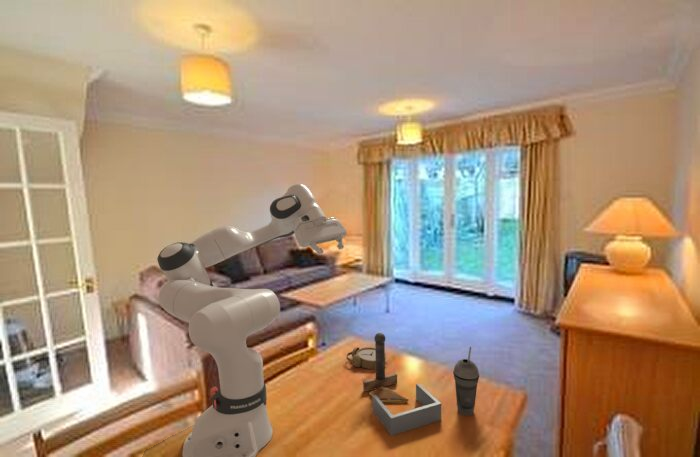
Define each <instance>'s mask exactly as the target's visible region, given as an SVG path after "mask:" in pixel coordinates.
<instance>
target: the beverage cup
mask: <svg viewBox="0 0 700 457" xmlns="http://www.w3.org/2000/svg"><path fill="white" fill-rule="evenodd" d="M471 352H472V347H471V346H469V348H468V357H467V358H465V359H464V358H463V359H460V360H458V361H457V362H456V363H455V365H454V367H453V371H452V372H453V379H454V383H455V384H454V385H455V386H454V387H455V397H456V406H457V412H458V413H459V414H461V415H462V416H466V417H467V416H468V417H469V416H472V415H473V414H475V411H474V410H475V406H476V399H477V398H476V397H477V390H478V383H479V380H480V379H479V378H480V372H479V368H478V366H477V365H476V364H475V362H473V361H472V360H471Z"/></svg>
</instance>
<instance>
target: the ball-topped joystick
mask: <svg viewBox="0 0 700 457" xmlns="http://www.w3.org/2000/svg"><path fill="white" fill-rule="evenodd" d="M385 342H386V336H385V334H384V333H382V332H378V333H376V334H375V335H374V344H375V346H374V348H375V351H376V369H375V377H373V378H370V379H365V380H363V381H362V385H363V386H362V388H363V389H362V390H363V391H364V392H368V391H374V390H376V389H377V388H380V387H388V386H391V385H392V386H393V385H394V384H398V374H397V373H396V372H394V373H390V374H386V363H385V362H386V359H385V354H386V352H385V348H386V347H385V346H386V345H385Z"/></svg>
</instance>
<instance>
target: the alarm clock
mask: <svg viewBox="0 0 700 457" xmlns="http://www.w3.org/2000/svg"><path fill="white" fill-rule="evenodd" d="M386 354H387V353H385V360H386V358H387V355H386ZM350 355H351V358H350V357H349V356H350ZM346 360H347V361H348V362H351V363H352V365H353V366H354V368H360V367H361V368H365V369H369V370H376V351H375V347H371V346H370V347H362V348H360V347H358V346H357V347H354V348H353V349H352V351H350V352H347V353H346ZM386 364H387V365H388V362H387V361H385V365H386Z"/></svg>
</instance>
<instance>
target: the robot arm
mask: <svg viewBox="0 0 700 457" xmlns="http://www.w3.org/2000/svg"><path fill="white" fill-rule="evenodd" d="M269 212H270V218H271V221H270V222H269V223H268V224H266V225H263V226H261V227H258V228H256V229H254V230H250V231H244V230H241V229H239V228H238V227H235V226H233V225H226V224H225V225H222V226H219V227H217V228H214V229H212V230H210V231H208V232H206V233H204V234H203V235H201V236H199V237H198V238H196V239H195V240H193V241H191V242H190V243H188V242H183V241H181V242H174V243H171V244H170V245H167V246H166V247H164V248H163V249H162V250H160V252H159V254H158V256H157V258H156V259H157V260H156V261H157V264H158V266H159V269H160V270H161V271H162V272H163V274H164V276H165V278H166V280H167V281H168V282H166V283H165V284H164V285H163V286H162V287H161V289H160V290H159V292H158V298H157V299H158V304H159V305H160V307H161V308H162V309H163V310H164V311H166V312H167V313H168V314H170V315H172V316H173V317H174V318H177V319H180V320H181V321H184V322H187V323H188V335H189V338H190V340H191V342H192V343H193V345H194V346H195V347H197V348H198V349H200V350H201V351H203V352H206V353H209V354H210V355H211V357H212V358H213V359H214V360H215V361H214V362H215V363H216V366H217V371H218V378H219V388H218V386H213V387H211V388H210V397H212V401H211V402H212V405H210V407H208V408H207V409H205V411H204V412H202V413H201V414H200V415H198V417H197V418H196V420H195V421H194V423H193V428H192V431H191V432H190V433H189V434H188V435H187V436H186V438H185V440H184V442H183V447H182V455H181V456H182V457H256V456H257V454H258V453H259V452H260V450H261V449H263V448H264V447H265V446H266V445H267V444H268V443H269V442H270V441H271V439H272V437H273V432H274V430H273V427H272V424H271V422H270V418H269V415H268V410H267V400H268V398H267V397H268V396H267V395H268V394H267V386H266V381H265V379H264V378H265V377H264V363H263V362H264V361H263V357H262V355H261V354H260V352H258V351H257V350H256V349H254V348H251V347H247V346H248V345H247V339H248V336H251V335H253V334H255V333H257V332H260V331H261V330H263V329H265V328H267V327H268V326H269V325H270V324H272V323H273V322H274V321H275V320H277V319H278V317H279V315H280V314H281V303H280V300H279V298H278V295H277V294H276V293H274V291H273V290H271V289H269V288H254V289H253V288H238V287H237V288H236V287H218V286H214V283H213V282H212V279H210V277H209V275H208V274H209V273H208V271H207V270H206V268H209V267H211V266H215V265H218V263H222V262H223V261H225V260H227V259H229V258H231V257H234V256H235V255H237V254H240V253H243V252H246V251H250V250H253V249H255V248H257V247H260V246H262V245H265V244H267V243H270V242H271V241H273V240H277V239H281V238H287V237H291V236H293V235H294V237H295V239H296V242H297V243H298V245H299V247H302V248H306V247H307V248H308V247H310V248H311V249H312V250H313V251H315V252H316V254H317V255H318V256H320V255H323V254H324V249H323V247H319V245H320V244H325V243H328V242H329V243H330V242H332V241H333V242H334V241H336V243H338V244H337V246H336V247H337V249H338V250H343V249H344V248H345V245H344V244H343V239H344V238H345V237H346V236H347V234H348V230H347V228H346V227H345V226H344V225H343V223H342V222H341V221H340V219H338V218H336V217H334V216H333V217H327V216H326V214H325V213H324V211H323V209H322V208H321V206H320V205H319V204H318V202H317V199H316V197H315V196H314V194H313V193H312V191H311V190H310V189H309V187H307V186H306V185H305V184H302V183H296V184H293V185H291V186H289V188H288V189H287V191H286V192H285V193H284V194H283V195H282V196H279V197H278V198H276V199H274V200H273V201H272V202H271V204H270V206H269Z"/></svg>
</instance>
